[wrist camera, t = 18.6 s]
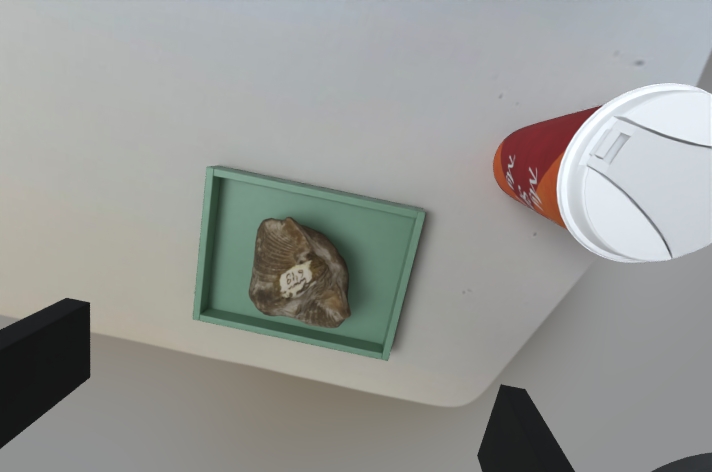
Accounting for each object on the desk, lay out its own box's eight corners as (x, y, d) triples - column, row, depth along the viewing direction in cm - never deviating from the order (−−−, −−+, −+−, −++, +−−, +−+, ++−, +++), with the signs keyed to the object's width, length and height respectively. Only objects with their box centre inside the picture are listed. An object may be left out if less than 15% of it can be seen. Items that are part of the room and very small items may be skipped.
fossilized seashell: (374, 322, 29) (344, 200, 28) (319, 360, 24) (281, 211, 23) (309, 322, 33) (282, 217, 33) (251, 354, 28) (218, 230, 28)
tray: (423, 208, 29) (425, 212, 27) (387, 348, 33) (388, 361, 31) (217, 165, 29) (206, 166, 27) (202, 309, 33) (192, 319, 31)
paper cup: (459, 183, 28) (533, 218, 15) (516, 91, 27) (659, 37, 13) (542, 229, 29) (686, 304, 15) (603, 143, 27) (828, 143, 14)
